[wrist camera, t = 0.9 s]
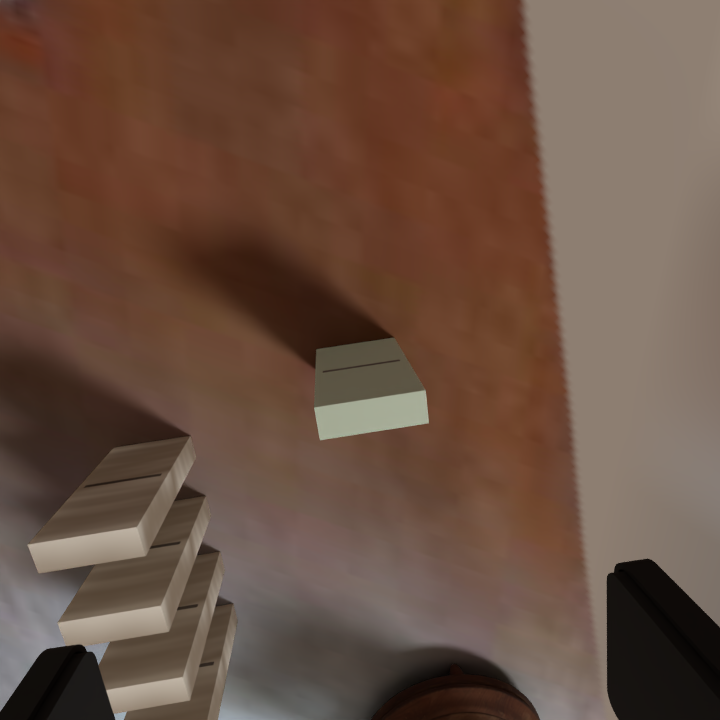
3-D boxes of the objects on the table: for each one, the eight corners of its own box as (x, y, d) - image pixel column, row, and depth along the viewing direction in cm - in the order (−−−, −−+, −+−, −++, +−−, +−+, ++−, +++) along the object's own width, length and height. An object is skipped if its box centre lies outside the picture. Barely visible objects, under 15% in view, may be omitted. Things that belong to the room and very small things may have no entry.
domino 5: (316, 348, 32) (314, 407, 22) (394, 337, 32) (425, 389, 22) (320, 373, 32) (319, 440, 23) (397, 361, 32) (429, 423, 23)
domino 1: (113, 447, 33) (27, 544, 23) (190, 435, 33) (136, 526, 23) (120, 469, 33) (38, 573, 24) (196, 457, 33) (145, 556, 24)
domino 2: (131, 507, 34) (57, 622, 24) (205, 495, 34) (161, 605, 25) (138, 528, 34) (67, 649, 25) (210, 516, 35) (169, 632, 25)
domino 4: (164, 614, 37) (109, 757, 27) (233, 603, 37) (202, 741, 27) (169, 632, 37) (117, 779, 27) (237, 621, 37) (208, 763, 28)
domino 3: (148, 563, 35) (84, 693, 26) (219, 551, 35) (182, 676, 26) (154, 582, 36) (93, 717, 26) (224, 570, 36) (190, 700, 26)
